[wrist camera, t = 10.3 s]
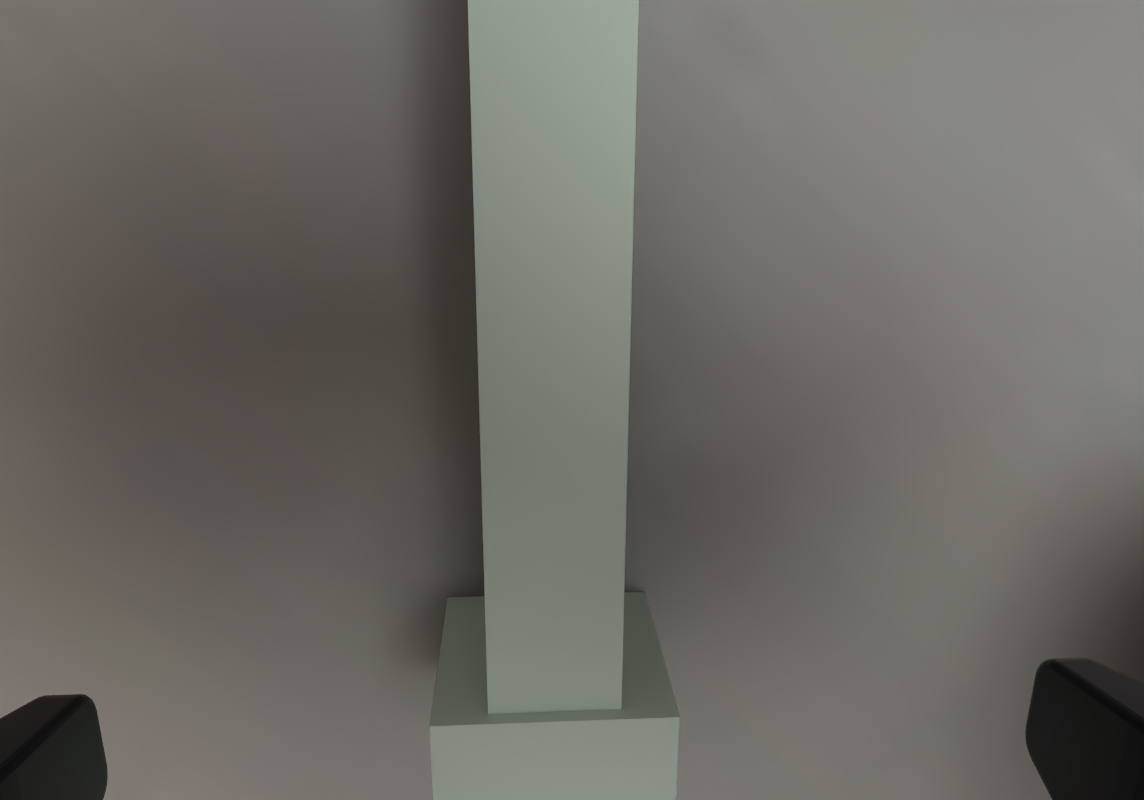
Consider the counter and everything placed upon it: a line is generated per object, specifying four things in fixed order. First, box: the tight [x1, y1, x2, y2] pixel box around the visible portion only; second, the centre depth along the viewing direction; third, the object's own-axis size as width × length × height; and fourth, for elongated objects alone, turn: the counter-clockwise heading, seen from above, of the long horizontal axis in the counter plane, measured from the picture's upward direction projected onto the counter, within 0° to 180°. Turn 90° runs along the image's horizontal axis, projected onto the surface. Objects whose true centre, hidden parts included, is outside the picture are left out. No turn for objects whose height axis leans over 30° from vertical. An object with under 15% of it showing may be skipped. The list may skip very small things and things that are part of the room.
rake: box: [429, 0, 680, 800], centre depth 17 cm, size 23×12×5 cm, turn 0°
